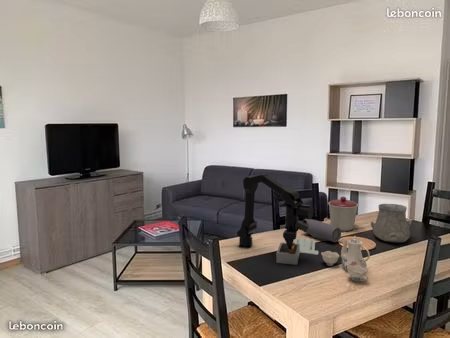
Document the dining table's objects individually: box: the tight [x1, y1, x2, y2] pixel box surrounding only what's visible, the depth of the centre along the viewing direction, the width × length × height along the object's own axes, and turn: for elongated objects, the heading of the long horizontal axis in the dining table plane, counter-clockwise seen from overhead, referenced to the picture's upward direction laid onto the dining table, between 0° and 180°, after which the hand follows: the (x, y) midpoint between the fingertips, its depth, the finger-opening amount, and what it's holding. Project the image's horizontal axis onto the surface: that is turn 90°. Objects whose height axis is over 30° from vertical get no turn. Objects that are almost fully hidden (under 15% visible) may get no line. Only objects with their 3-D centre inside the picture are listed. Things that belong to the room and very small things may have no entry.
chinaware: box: [320, 235, 371, 283], centre depth 155 cm, size 28×17×17 cm, turn 27°
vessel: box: [370, 203, 412, 244], centre depth 193 cm, size 22×22×20 cm
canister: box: [327, 196, 359, 232], centre depth 215 cm, size 18×18×21 cm
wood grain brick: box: [283, 242, 295, 254], centre depth 171 cm, size 6×5×7 cm
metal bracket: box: [293, 236, 319, 255], centre depth 183 cm, size 14×6×15 cm
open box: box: [275, 242, 300, 266], centre depth 171 cm, size 10×15×5 cm, turn 163°
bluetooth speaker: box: [305, 218, 342, 243], centre depth 199 cm, size 23×9×10 cm, turn 35°
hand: (291, 246), depth 170 cm, fingers open, 9 cm apart
